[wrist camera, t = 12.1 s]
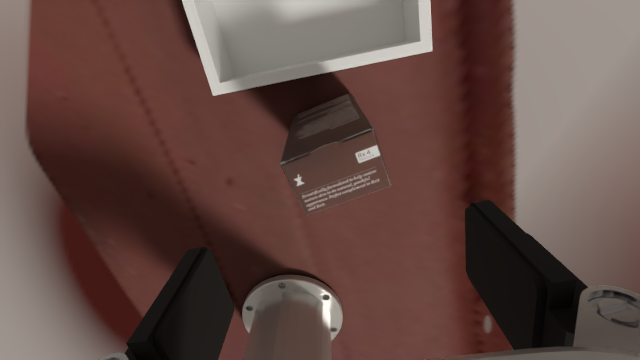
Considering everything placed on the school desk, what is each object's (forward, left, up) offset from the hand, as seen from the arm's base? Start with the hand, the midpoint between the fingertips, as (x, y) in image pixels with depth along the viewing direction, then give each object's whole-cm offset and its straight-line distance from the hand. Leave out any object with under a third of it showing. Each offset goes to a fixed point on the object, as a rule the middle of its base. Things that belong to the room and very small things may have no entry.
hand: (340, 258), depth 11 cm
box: (0, 0, -20) cm, 20 cm away
